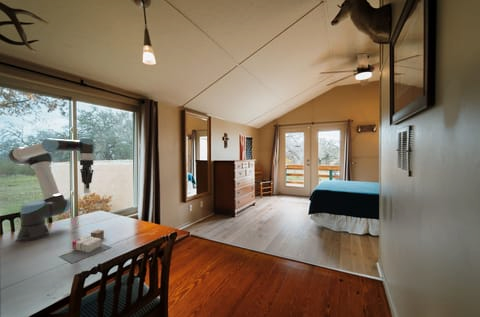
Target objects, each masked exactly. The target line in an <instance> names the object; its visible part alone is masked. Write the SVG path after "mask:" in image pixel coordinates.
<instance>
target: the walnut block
mask: <svg viewBox="0 0 480 317" xmlns="http://www.w3.org/2000/svg"><path fill="white" fill-rule="evenodd" d="M104 236H105V232H104V230H103V229H102V230H101V229H96V230H94V231H91V232H90V237H95V238H99V239H101V240H102V239H103V238H104Z"/></svg>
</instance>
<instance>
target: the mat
mask: <svg viewBox="0 0 480 317" xmlns="http://www.w3.org/2000/svg"><path fill="white" fill-rule="evenodd" d="M110 249H112V247H111V246H110V245H107V244H104V243H102V242H101V246H100V247H98V248H96V249H94V250H92V251H90V252H89V253H88V252H84V251H79V250H77V251H74V252H72V253H69V254H66V255H63V256H62V254H61V255H59V256H58V257H59V258H61V260H62V259H63V260H64V261H66V262H68V263H70V264H74V263H77V262H79V261H82V260H84V259H86V258H89V257H91V256H94V255H96V254H99V253H102V252H105V251H106V250H110Z"/></svg>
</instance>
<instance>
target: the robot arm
mask: <svg viewBox="0 0 480 317" xmlns="http://www.w3.org/2000/svg"><path fill="white" fill-rule="evenodd" d="M94 146H95V145H94V139H93V138H92V137H85V136H84V137H80V138H79V140H77V139H75V140H74V139H59V138H44V139H43V140H42V141H41V142H39V143H36V144H31V145H28V146H25V147H23V146H17V147H15V148H12V149H11V150H10V151H9V152H8V154H7V156H8V159H9V160H10V161H11V162H12V163H15V164H19V165H29V168H31V169H33V171H34V173H35V176H36V179H37V181H38V183H39V187H40V190H41V192H42V194H43V199H42V200H40V199H39V200H34V201H29V202H26V203H24V204H22V205H21V207H20V212H19V214H20V228H19V230H18V233H17V236H16V241H18V242H29V241H35V240H39V239H42V238H44V237H47V236H48V235H49V234H50V230H49V227H48V226H47V224H46V219H49V218H53V217H57V216H60V215H61V216H62V215H63V214H66V213H67V212H68V211H69V210H70V208H71V201H70V199H69V198H68V197H65V196H64V194H61V193H60V191H59V189H58V186H57V183H56V180H55V178H54V175H53V172H52V169H51V167H50V166H51V164H52V162H53V159H54V156H53V152H59V151H60V152H61V151H62V152H65V151H66V152H67V151H68V152H79V159H80V160H79V166H81V168H80V169H79V171H80V175H81V176H80V177H81V183H83V193H84V194H89V193H90V184H92V181H93V173H94V169H92V166H94Z"/></svg>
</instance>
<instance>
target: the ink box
mask: <svg viewBox="0 0 480 317" xmlns="http://www.w3.org/2000/svg"><path fill="white" fill-rule="evenodd" d="M101 243H102V239H99V238H95V237H91V235H84V236H82V237H80V238H77V239H75V240H72V243H71V245H72V246H71V249H72V250H79V251H84V252H88V253H89V252H90V251H92V250H94V249H96V248H98V247H100V246H101Z"/></svg>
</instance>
